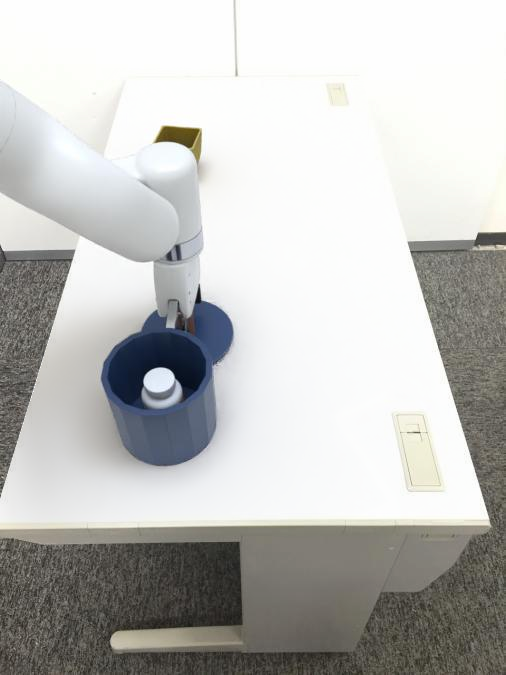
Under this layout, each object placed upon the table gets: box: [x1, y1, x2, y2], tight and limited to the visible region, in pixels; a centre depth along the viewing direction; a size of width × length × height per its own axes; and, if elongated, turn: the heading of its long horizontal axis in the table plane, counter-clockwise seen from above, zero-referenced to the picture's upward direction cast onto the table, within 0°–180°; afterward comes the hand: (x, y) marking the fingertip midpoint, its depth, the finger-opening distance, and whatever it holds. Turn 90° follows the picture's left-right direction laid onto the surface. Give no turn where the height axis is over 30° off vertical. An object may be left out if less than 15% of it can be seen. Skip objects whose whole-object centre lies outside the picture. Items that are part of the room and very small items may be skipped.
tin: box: [100, 328, 217, 467], centre depth 71 cm, size 14×14×12 cm
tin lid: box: [140, 300, 234, 364], centre depth 84 cm, size 15×15×6 cm
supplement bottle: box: [141, 368, 184, 410], centre depth 71 cm, size 5×5×10 cm
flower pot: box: [151, 124, 203, 166], centre depth 113 cm, size 9×9×9 cm
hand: (186, 323), depth 84 cm, fingers open, 9 cm apart
